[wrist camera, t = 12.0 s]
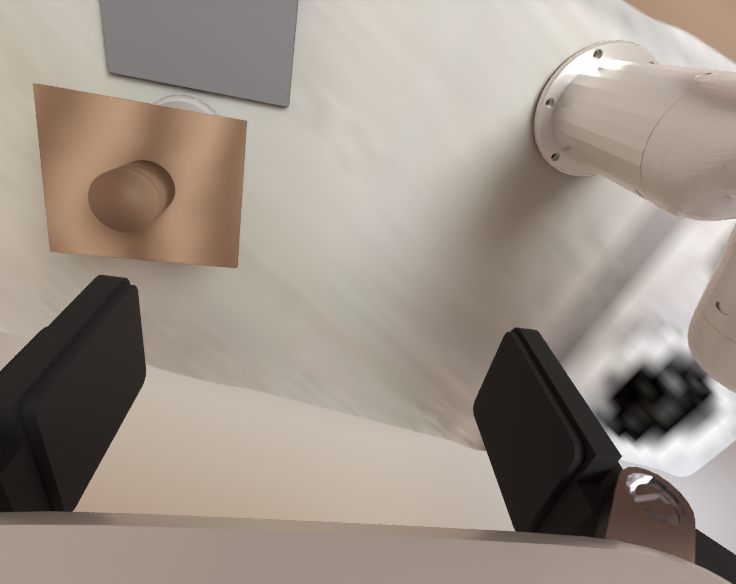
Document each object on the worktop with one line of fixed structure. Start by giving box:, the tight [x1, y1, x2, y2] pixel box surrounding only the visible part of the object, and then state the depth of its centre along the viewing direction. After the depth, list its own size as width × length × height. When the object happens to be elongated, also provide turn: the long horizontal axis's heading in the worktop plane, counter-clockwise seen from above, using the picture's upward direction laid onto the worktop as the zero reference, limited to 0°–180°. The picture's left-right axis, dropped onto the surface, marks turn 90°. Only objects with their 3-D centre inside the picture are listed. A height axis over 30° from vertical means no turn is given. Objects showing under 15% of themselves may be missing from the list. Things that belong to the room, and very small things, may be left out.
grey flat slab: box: [100, 0, 298, 107], centre depth 36 cm, size 16×12×1 cm
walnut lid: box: [33, 83, 247, 268], centre depth 30 cm, size 14×12×7 cm
